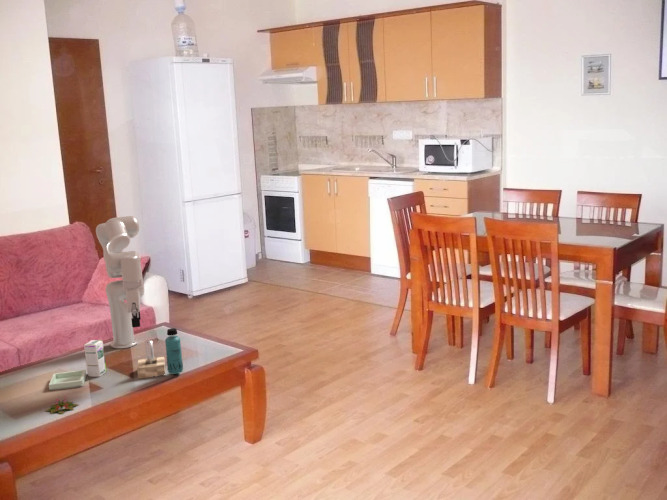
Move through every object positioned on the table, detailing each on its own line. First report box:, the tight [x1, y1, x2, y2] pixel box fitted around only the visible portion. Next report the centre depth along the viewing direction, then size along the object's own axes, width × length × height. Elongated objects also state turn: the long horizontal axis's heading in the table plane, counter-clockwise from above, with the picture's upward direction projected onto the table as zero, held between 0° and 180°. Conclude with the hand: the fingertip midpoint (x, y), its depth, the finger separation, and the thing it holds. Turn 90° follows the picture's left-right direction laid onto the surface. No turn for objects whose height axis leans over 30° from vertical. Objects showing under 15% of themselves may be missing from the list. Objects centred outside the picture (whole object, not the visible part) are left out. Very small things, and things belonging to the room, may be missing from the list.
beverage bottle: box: [164, 328, 184, 375], centre depth 292 cm, size 6×7×20 cm
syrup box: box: [83, 339, 108, 378], centre depth 297 cm, size 6×6×14 cm
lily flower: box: [44, 396, 79, 415], centre depth 265 cm, size 12×12×5 cm
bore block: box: [136, 356, 166, 379], centre depth 297 cm, size 11×11×4 cm
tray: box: [48, 369, 87, 391], centre depth 290 cm, size 13×13×2 cm
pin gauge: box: [144, 339, 155, 365], centre depth 296 cm, size 3×3×14 cm
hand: (136, 323), depth 293 cm, fingers open, 9 cm apart
